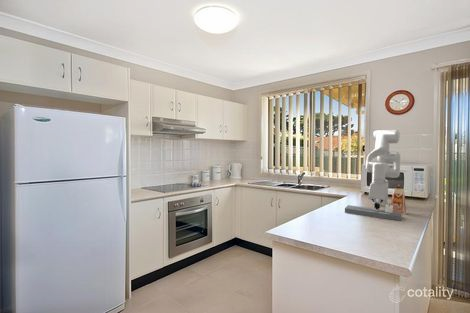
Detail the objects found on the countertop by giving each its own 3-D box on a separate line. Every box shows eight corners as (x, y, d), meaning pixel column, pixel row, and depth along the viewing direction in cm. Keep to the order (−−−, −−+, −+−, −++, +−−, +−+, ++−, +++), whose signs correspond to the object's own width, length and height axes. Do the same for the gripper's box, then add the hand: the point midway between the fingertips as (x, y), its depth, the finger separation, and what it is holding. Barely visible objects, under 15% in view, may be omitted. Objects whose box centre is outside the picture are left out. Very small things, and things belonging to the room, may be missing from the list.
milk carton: (405, 215, 170) (406, 185, 169) (389, 212, 175) (390, 183, 175) (406, 212, 177) (407, 184, 176) (390, 210, 183) (392, 182, 182)
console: (347, 209, 182) (348, 205, 182) (401, 216, 164) (401, 212, 164) (344, 212, 172) (344, 208, 172) (400, 221, 154) (401, 216, 154)
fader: (385, 210, 166) (385, 204, 166) (392, 211, 164) (393, 205, 164) (385, 212, 162) (385, 205, 162) (392, 213, 160) (392, 206, 160)
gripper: (391, 182, 165) (390, 209, 166) (366, 180, 173) (365, 206, 174) (391, 183, 159) (390, 212, 159) (364, 181, 167) (363, 208, 167)
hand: (377, 209), depth 167 cm, fingers closed
